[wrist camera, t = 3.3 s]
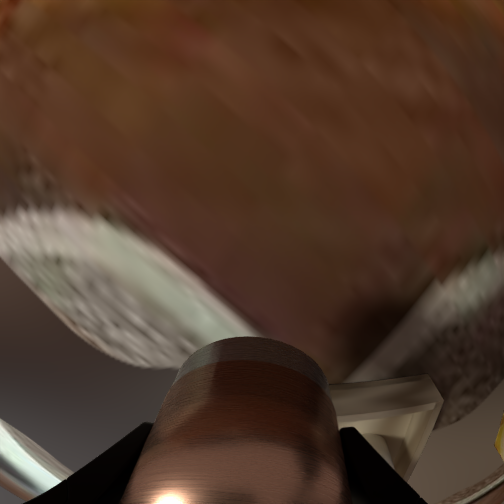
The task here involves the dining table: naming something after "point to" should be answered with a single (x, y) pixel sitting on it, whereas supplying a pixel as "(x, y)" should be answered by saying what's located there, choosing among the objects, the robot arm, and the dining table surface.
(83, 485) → the robot arm
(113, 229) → the dining table surface
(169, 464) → the can
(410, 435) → the beige wooden tray
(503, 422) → the blue food box
